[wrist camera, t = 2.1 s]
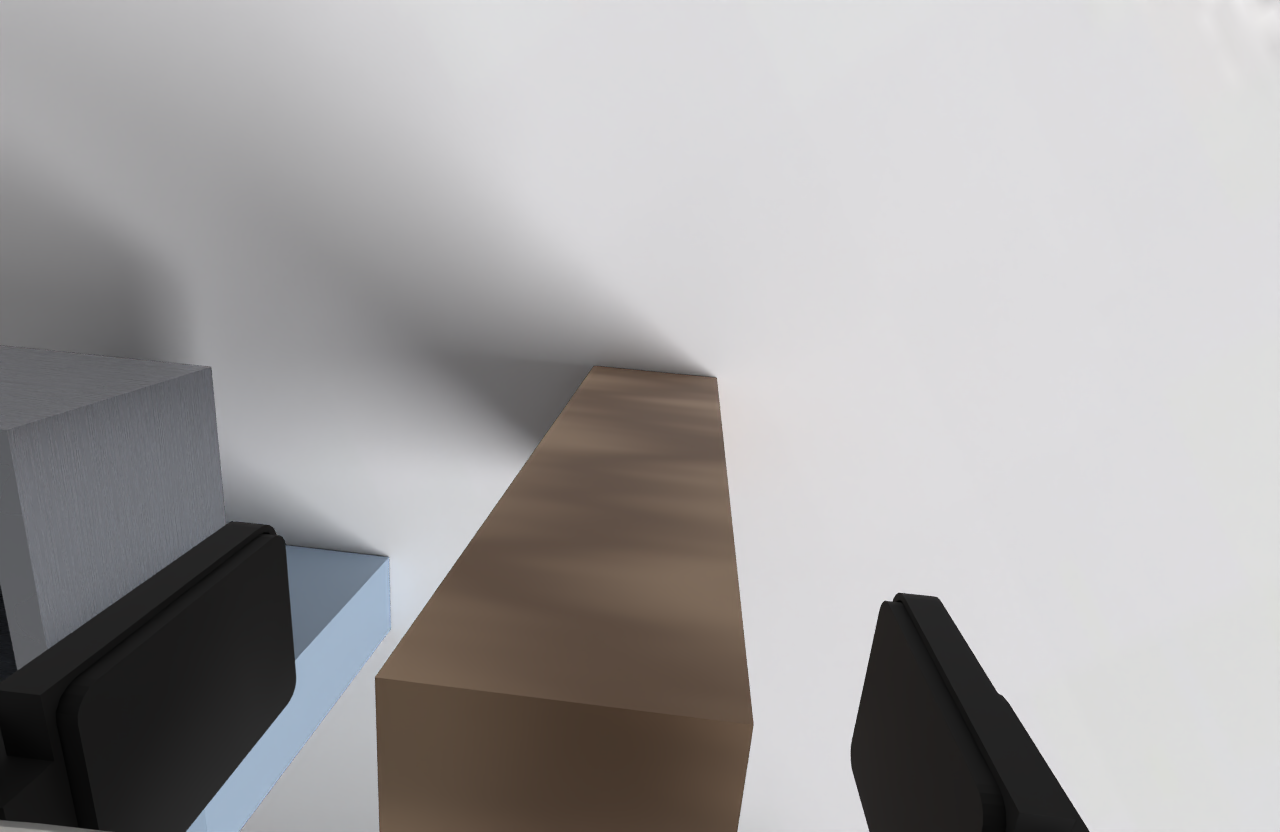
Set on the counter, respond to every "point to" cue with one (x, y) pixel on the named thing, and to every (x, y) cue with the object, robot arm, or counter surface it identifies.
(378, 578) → the slate-blue board
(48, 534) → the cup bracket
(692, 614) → the walnut rail
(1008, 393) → the counter surface
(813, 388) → the counter surface
